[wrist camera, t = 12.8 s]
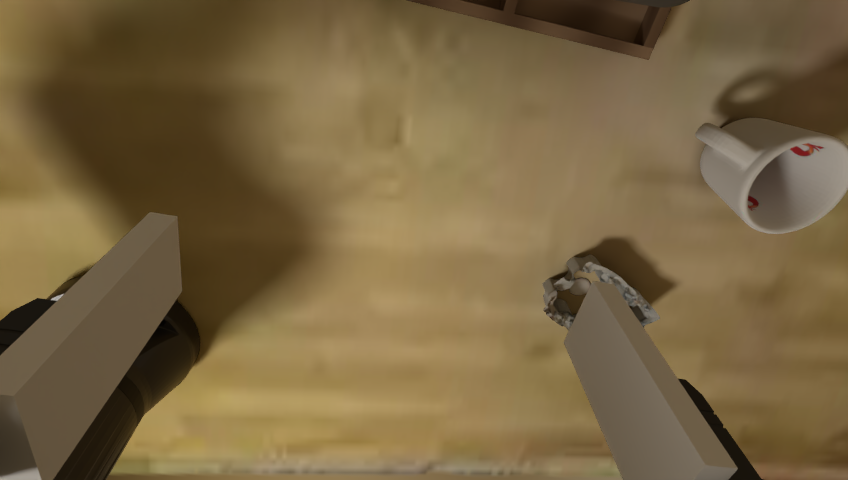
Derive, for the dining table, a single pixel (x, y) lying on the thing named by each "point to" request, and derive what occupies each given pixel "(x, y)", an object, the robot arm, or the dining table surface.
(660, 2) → the pepper mill
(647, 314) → the egg carton
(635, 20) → the caddy
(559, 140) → the dining table surface
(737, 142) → the cup
